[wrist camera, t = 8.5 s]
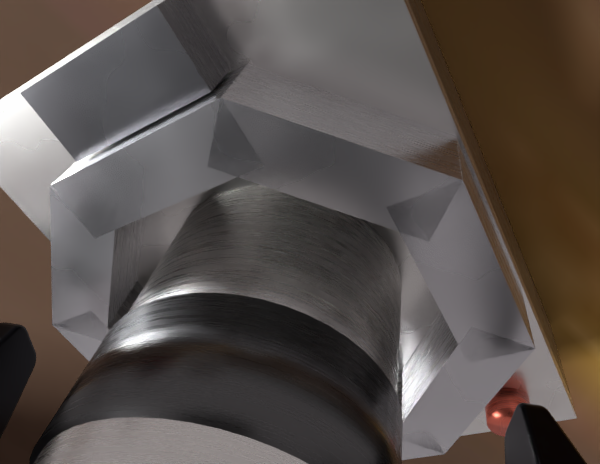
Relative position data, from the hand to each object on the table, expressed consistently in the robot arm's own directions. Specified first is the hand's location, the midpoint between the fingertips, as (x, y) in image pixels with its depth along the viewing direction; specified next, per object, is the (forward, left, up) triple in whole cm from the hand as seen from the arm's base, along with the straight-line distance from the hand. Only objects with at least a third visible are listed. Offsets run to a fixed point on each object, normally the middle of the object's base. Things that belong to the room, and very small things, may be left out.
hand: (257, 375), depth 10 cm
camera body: (0, 0, -6) cm, 6 cm away
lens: (0, 0, -2) cm, 2 cm away
